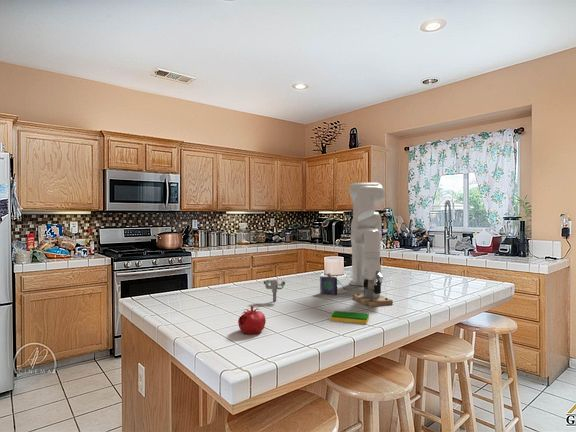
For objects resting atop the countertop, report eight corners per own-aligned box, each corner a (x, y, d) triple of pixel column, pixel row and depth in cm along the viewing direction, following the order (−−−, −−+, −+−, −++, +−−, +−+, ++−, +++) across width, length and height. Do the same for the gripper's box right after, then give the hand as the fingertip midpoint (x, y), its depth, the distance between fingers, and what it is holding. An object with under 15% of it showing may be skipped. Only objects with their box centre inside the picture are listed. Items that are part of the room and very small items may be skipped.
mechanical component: (284, 302, 169) (284, 281, 169) (263, 301, 171) (263, 280, 171) (285, 301, 172) (285, 280, 172) (265, 300, 174) (264, 279, 174)
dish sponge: (335, 316, 148) (334, 310, 148) (368, 319, 144) (368, 313, 144) (331, 321, 142) (331, 315, 142) (366, 325, 137) (366, 318, 137)
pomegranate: (265, 327, 135) (266, 302, 135) (265, 336, 125) (265, 309, 125) (239, 327, 134) (239, 302, 134) (236, 335, 124) (236, 309, 124)
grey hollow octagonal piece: (361, 296, 173) (361, 287, 173) (374, 294, 175) (374, 285, 175) (369, 299, 166) (369, 290, 166) (382, 298, 168) (382, 288, 168)
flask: (319, 293, 187) (319, 273, 187) (321, 292, 190) (321, 272, 190) (336, 295, 183) (336, 274, 183) (338, 294, 186) (338, 273, 186)
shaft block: (352, 298, 176) (352, 276, 176) (374, 296, 180) (374, 274, 180) (369, 306, 161) (369, 282, 161) (392, 304, 165) (392, 280, 165)
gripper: (355, 253, 177) (356, 288, 178) (374, 258, 161) (374, 296, 161) (369, 253, 180) (369, 287, 180) (389, 257, 163) (389, 294, 163)
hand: (371, 291), depth 171 cm, fingers open, 9 cm apart
